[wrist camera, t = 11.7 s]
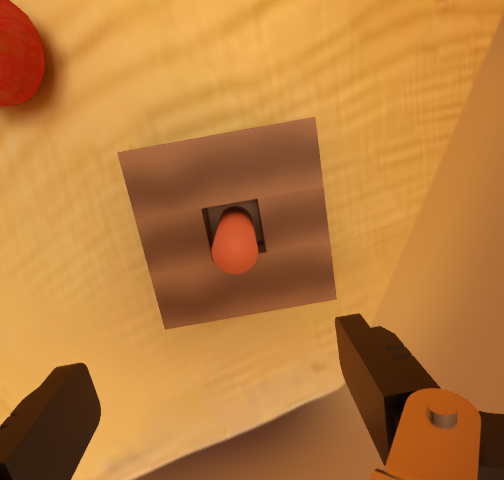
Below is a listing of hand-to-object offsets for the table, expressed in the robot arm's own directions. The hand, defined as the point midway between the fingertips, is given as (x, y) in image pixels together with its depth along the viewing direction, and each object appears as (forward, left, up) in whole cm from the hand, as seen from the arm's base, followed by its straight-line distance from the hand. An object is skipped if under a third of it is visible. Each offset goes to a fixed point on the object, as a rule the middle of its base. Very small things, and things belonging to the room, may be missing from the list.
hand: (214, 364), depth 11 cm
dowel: (0, 0, -23) cm, 23 cm away
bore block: (0, 0, -24) cm, 24 cm away
